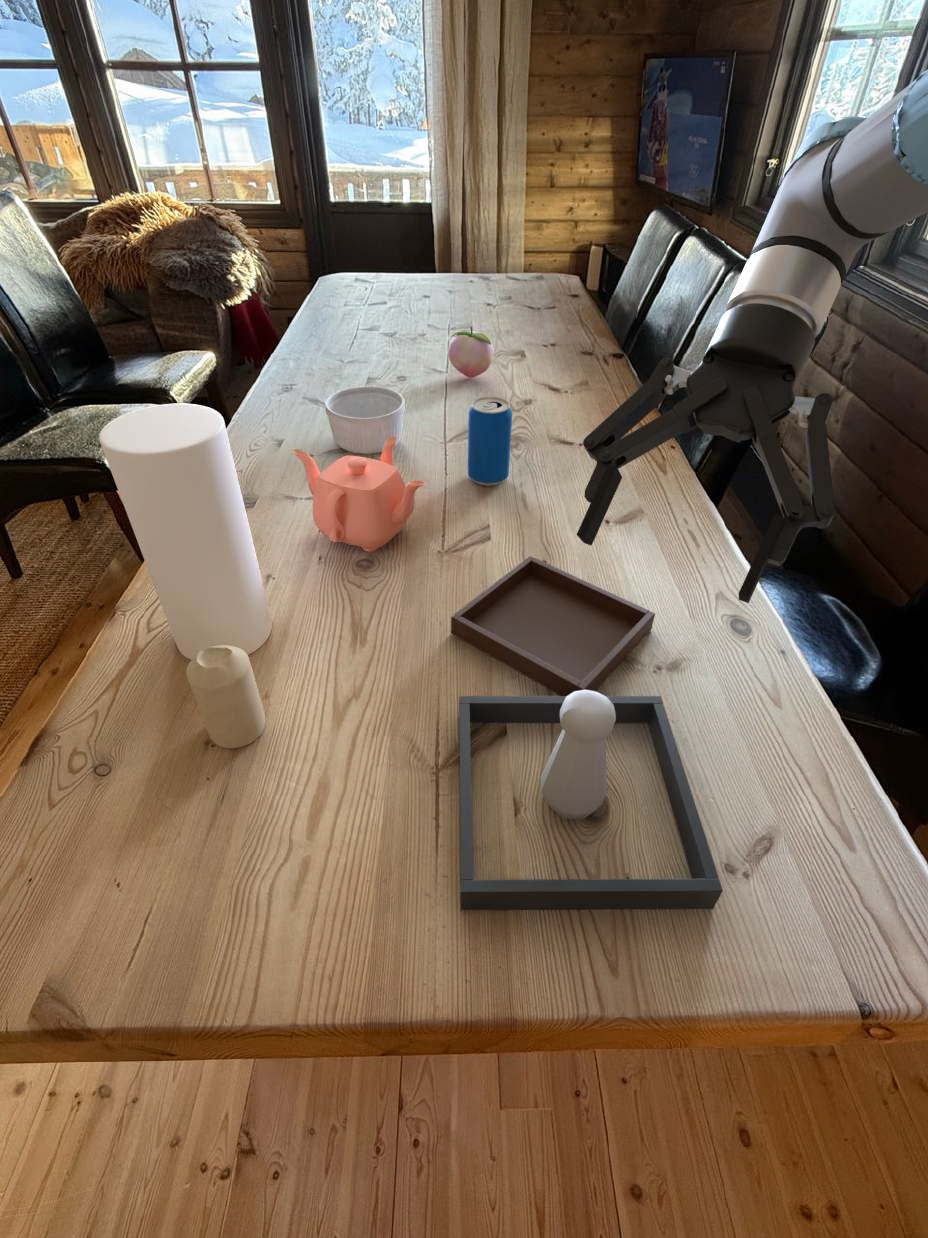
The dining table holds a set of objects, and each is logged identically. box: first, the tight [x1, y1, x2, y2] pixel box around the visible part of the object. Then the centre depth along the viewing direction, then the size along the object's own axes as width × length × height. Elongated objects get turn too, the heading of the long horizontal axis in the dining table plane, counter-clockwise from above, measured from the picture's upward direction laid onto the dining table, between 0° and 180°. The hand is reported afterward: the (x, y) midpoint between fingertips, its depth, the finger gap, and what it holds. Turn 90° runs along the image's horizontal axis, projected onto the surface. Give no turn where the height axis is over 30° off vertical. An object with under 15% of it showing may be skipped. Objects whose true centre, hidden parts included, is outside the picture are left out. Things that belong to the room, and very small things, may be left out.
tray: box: [450, 555, 656, 696], centre depth 76 cm, size 18×16×3 cm
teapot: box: [292, 437, 426, 552], centre depth 88 cm, size 14×14×11 cm
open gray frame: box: [458, 695, 724, 911], centre depth 58 cm, size 20×20×3 cm
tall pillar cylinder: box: [98, 403, 273, 661], centre depth 68 cm, size 11×11×25 cm
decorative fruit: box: [447, 326, 494, 379], centre depth 133 cm, size 9×8×10 cm
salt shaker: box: [540, 690, 616, 820], centre depth 55 cm, size 6×6×13 cm
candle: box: [185, 645, 267, 749], centre depth 62 cm, size 6×6×10 cm
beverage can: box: [467, 396, 513, 486], centre depth 100 cm, size 6×6×12 cm
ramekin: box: [324, 385, 406, 455], centre depth 111 cm, size 13×13×7 cm
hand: (659, 568), depth 53 cm, fingers open, 13 cm apart
